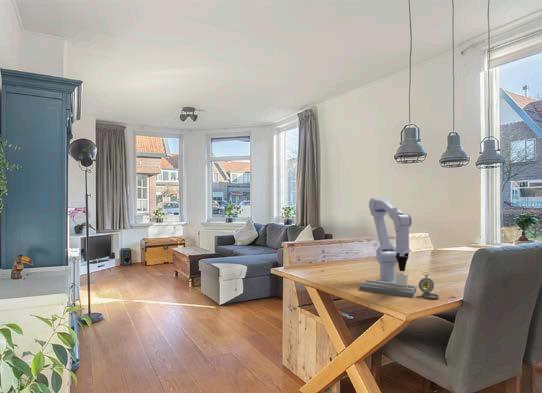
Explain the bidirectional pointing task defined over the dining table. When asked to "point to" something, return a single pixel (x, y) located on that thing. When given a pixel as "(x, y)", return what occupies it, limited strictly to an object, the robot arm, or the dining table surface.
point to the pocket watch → (425, 283)
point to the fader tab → (401, 280)
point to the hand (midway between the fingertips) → (402, 269)
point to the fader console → (388, 288)
